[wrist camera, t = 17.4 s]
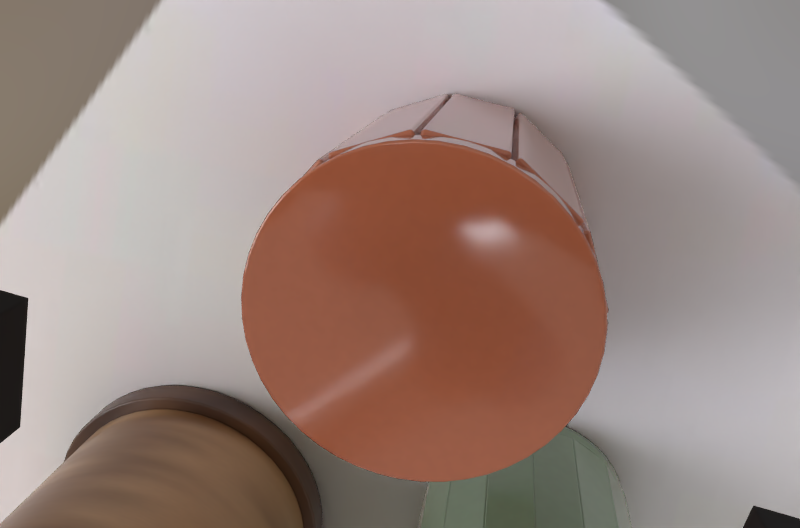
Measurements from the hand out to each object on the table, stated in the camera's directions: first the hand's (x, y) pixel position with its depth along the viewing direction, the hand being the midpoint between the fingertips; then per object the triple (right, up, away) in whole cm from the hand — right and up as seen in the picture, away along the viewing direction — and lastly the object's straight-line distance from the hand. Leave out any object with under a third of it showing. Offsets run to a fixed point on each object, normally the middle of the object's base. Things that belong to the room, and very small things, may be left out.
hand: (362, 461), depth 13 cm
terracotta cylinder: (+3, +5, +15) cm, 16 cm away
